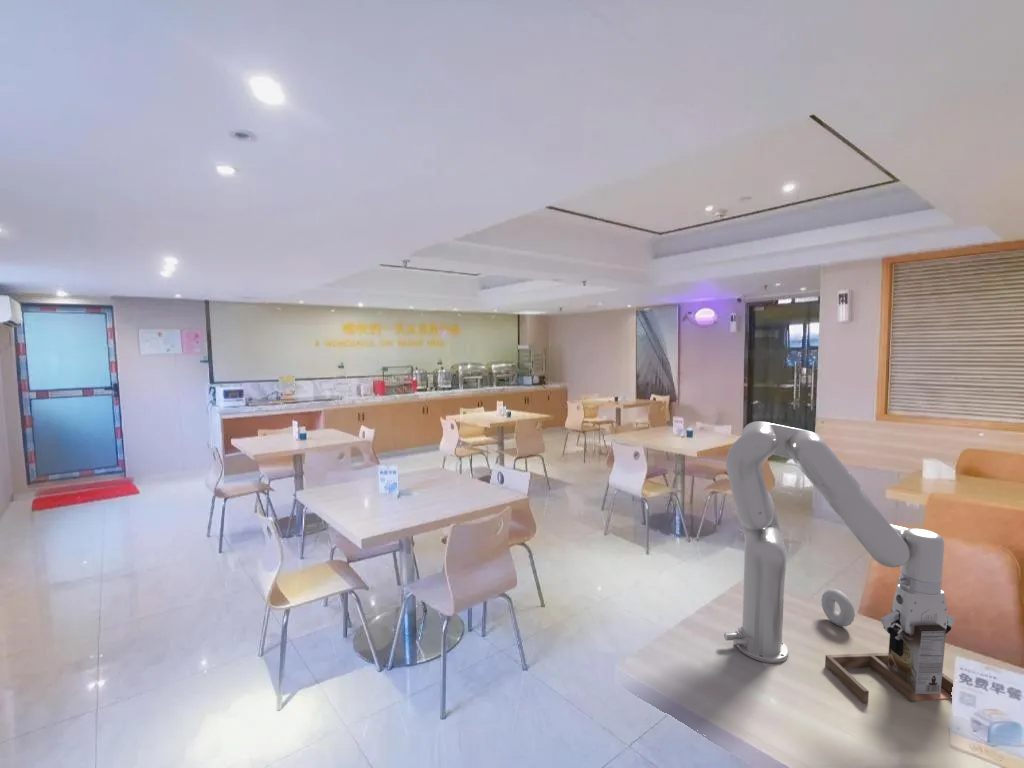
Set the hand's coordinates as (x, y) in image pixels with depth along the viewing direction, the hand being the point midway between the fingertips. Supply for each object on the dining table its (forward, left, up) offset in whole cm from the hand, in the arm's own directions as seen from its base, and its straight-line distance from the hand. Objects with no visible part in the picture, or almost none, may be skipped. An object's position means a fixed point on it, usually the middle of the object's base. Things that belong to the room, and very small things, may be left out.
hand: (915, 651), depth 118 cm
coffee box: (0, 0, -8) cm, 8 cm away
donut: (-1, +25, -8) cm, 26 cm away
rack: (-5, 0, -8) cm, 10 cm away
